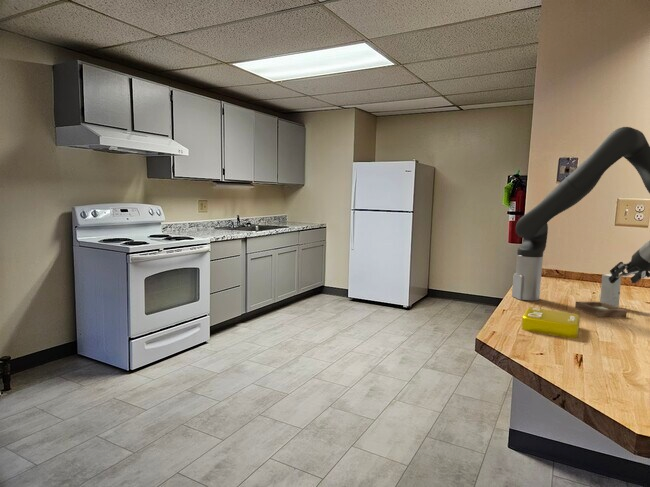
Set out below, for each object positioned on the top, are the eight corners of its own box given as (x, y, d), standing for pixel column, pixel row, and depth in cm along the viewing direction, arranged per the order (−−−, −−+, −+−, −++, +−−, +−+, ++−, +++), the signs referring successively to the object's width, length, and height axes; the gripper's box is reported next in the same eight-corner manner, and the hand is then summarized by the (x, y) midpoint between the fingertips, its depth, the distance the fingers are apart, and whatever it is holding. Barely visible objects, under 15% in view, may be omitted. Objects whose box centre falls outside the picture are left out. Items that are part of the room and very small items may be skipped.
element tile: (576, 340, 122) (578, 324, 122) (520, 330, 130) (521, 315, 130) (579, 327, 135) (580, 313, 134) (527, 319, 143) (528, 305, 142)
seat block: (598, 317, 145) (599, 310, 145) (575, 308, 157) (575, 301, 157) (626, 317, 146) (626, 310, 146) (600, 308, 158) (601, 301, 158)
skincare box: (611, 309, 157) (615, 276, 156) (598, 306, 161) (601, 274, 159) (619, 307, 161) (622, 275, 159) (606, 304, 164) (609, 273, 163)
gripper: (665, 246, 145) (634, 272, 158) (626, 245, 144) (598, 272, 156) (677, 264, 141) (644, 290, 153) (637, 263, 139) (607, 290, 152)
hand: (621, 281), depth 155 cm, fingers open, 8 cm apart
